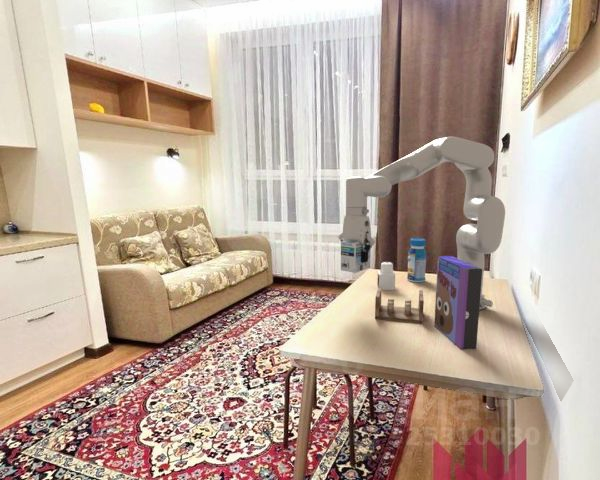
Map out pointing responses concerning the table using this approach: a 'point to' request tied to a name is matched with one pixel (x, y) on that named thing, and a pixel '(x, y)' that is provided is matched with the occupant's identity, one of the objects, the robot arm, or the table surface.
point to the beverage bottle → (417, 260)
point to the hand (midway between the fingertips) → (355, 259)
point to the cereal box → (458, 301)
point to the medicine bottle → (386, 276)
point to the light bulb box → (353, 257)
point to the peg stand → (399, 310)
